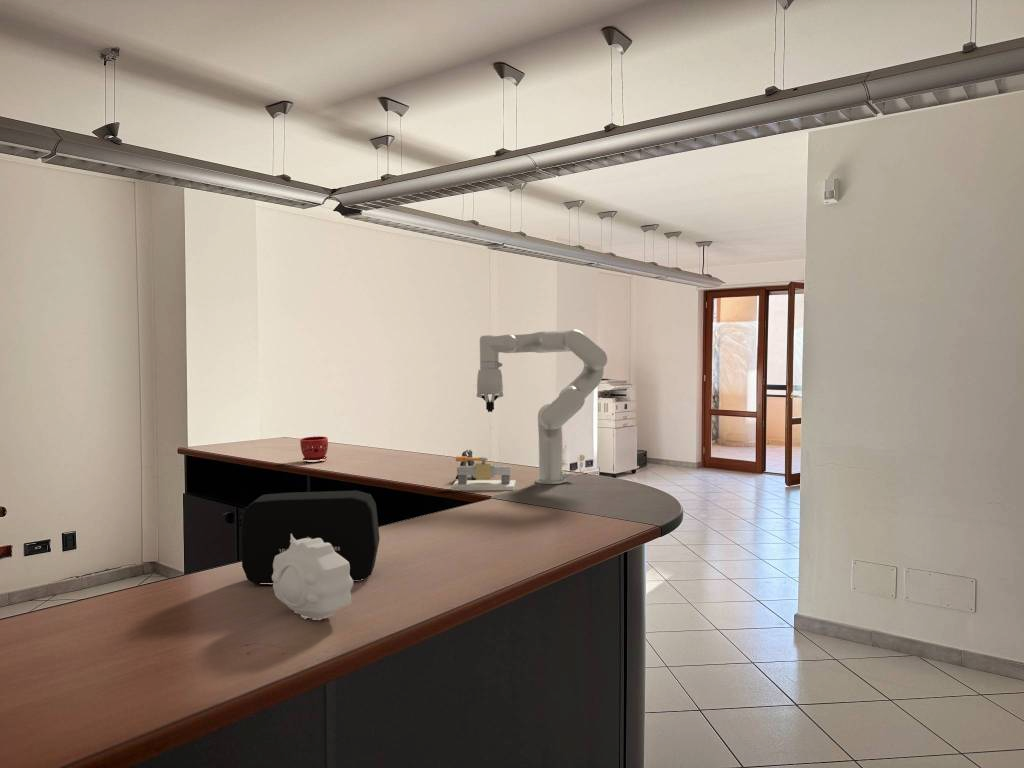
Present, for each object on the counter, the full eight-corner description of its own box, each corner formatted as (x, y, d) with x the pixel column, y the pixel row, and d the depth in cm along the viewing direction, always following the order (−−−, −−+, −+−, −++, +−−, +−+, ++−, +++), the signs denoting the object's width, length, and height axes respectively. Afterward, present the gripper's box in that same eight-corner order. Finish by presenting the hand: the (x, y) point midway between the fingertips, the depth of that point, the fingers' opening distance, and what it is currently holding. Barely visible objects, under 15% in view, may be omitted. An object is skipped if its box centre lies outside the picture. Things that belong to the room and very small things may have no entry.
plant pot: (299, 461, 354) (298, 437, 354) (325, 459, 360) (325, 435, 359) (303, 464, 343) (302, 440, 342) (330, 462, 348) (329, 438, 348)
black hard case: (241, 588, 161) (238, 501, 160) (256, 571, 173) (254, 490, 172) (376, 582, 163) (374, 496, 162) (381, 566, 175) (380, 486, 174)
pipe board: (515, 483, 284) (515, 472, 283) (513, 490, 271) (513, 478, 271) (456, 484, 285) (456, 472, 285) (451, 490, 272) (451, 478, 272)
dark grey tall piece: (479, 478, 299) (479, 449, 298) (476, 480, 293) (475, 451, 292) (459, 477, 300) (458, 449, 300) (455, 480, 295) (454, 451, 294)
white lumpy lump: (306, 600, 152) (304, 527, 151) (362, 619, 141) (360, 539, 140) (261, 616, 143) (258, 538, 142) (316, 637, 132) (313, 552, 131)
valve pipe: (511, 476, 280) (511, 460, 280) (510, 479, 274) (510, 462, 274) (458, 476, 282) (458, 460, 281) (456, 479, 276) (456, 462, 275)
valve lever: (487, 460, 279) (487, 456, 279) (486, 461, 276) (486, 457, 276) (457, 460, 280) (457, 456, 280) (455, 461, 278) (455, 457, 278)
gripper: (508, 365, 287) (509, 410, 288) (472, 366, 288) (472, 411, 289) (507, 366, 280) (508, 412, 280) (469, 366, 281) (470, 412, 281)
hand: (490, 411), depth 285 cm, fingers closed
